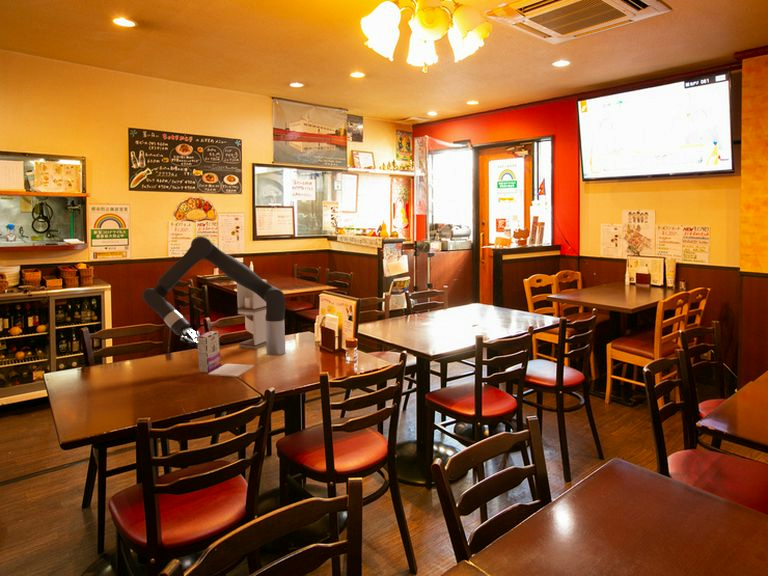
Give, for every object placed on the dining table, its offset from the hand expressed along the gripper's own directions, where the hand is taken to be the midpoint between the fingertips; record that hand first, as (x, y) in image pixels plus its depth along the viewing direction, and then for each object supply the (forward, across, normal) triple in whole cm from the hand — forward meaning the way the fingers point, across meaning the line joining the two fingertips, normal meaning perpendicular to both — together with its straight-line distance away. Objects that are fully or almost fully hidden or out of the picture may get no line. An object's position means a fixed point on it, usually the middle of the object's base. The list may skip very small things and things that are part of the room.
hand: (202, 349), depth 241 cm
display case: (+8, +45, +4) cm, 46 cm away
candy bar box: (+9, 0, +4) cm, 10 cm away
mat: (+16, 0, -4) cm, 17 cm away
